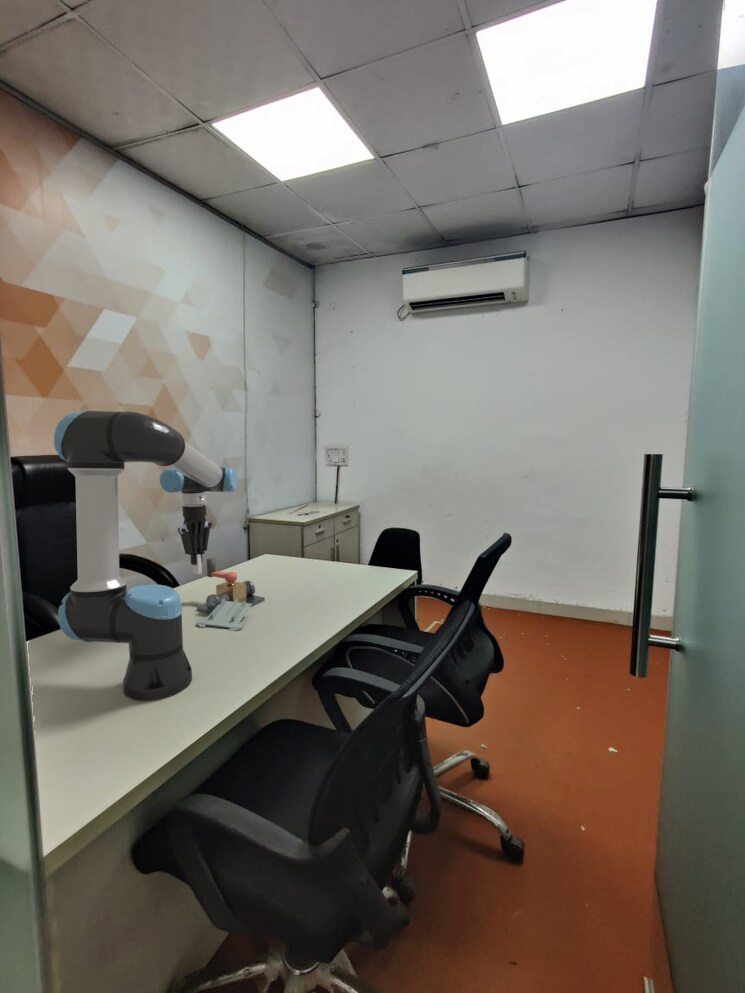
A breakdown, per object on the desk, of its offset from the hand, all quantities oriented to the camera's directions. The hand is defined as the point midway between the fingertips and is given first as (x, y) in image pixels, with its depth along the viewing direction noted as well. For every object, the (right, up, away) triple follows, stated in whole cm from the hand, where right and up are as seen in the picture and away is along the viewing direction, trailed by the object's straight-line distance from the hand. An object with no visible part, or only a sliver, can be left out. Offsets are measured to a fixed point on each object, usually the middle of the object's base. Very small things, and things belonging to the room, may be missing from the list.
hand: (197, 573), depth 165 cm
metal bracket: (+14, -14, -10) cm, 22 cm away
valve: (+11, -12, +3) cm, 16 cm away
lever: (+7, -2, +4) cm, 8 cm away
